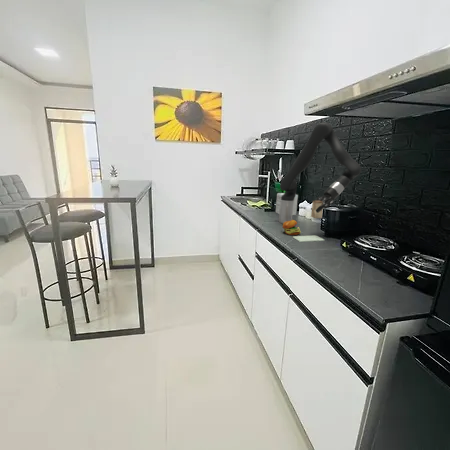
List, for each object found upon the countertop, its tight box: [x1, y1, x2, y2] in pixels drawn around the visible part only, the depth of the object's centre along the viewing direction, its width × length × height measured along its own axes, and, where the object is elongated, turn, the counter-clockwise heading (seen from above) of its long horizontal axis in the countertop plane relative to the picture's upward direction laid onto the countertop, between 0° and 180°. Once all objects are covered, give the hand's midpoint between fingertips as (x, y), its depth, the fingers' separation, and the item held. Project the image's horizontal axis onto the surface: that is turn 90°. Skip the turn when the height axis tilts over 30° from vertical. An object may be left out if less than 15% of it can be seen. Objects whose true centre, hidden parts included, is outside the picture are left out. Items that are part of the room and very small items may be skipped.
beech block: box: [310, 200, 324, 219], centre depth 153 cm, size 4×4×10 cm
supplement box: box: [275, 192, 299, 216], centre depth 219 cm, size 13×13×18 cm
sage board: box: [292, 235, 325, 243], centre depth 151 cm, size 16×9×1 cm, turn 103°
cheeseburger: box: [282, 219, 302, 236], centre depth 160 cm, size 10×11×10 cm
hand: (314, 210), depth 152 cm, fingers closed on beech block, 4 cm apart
